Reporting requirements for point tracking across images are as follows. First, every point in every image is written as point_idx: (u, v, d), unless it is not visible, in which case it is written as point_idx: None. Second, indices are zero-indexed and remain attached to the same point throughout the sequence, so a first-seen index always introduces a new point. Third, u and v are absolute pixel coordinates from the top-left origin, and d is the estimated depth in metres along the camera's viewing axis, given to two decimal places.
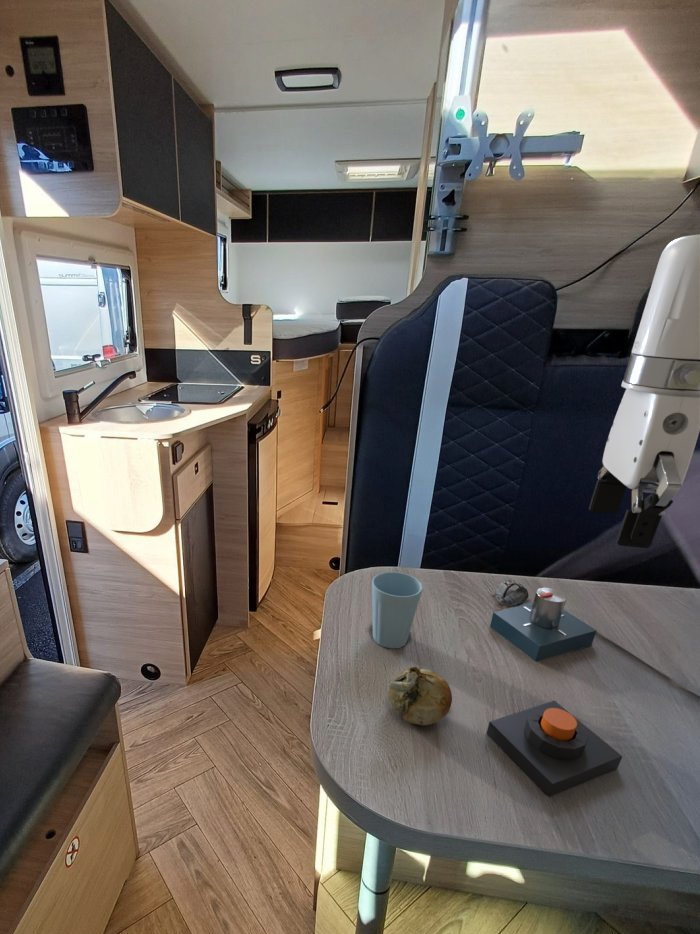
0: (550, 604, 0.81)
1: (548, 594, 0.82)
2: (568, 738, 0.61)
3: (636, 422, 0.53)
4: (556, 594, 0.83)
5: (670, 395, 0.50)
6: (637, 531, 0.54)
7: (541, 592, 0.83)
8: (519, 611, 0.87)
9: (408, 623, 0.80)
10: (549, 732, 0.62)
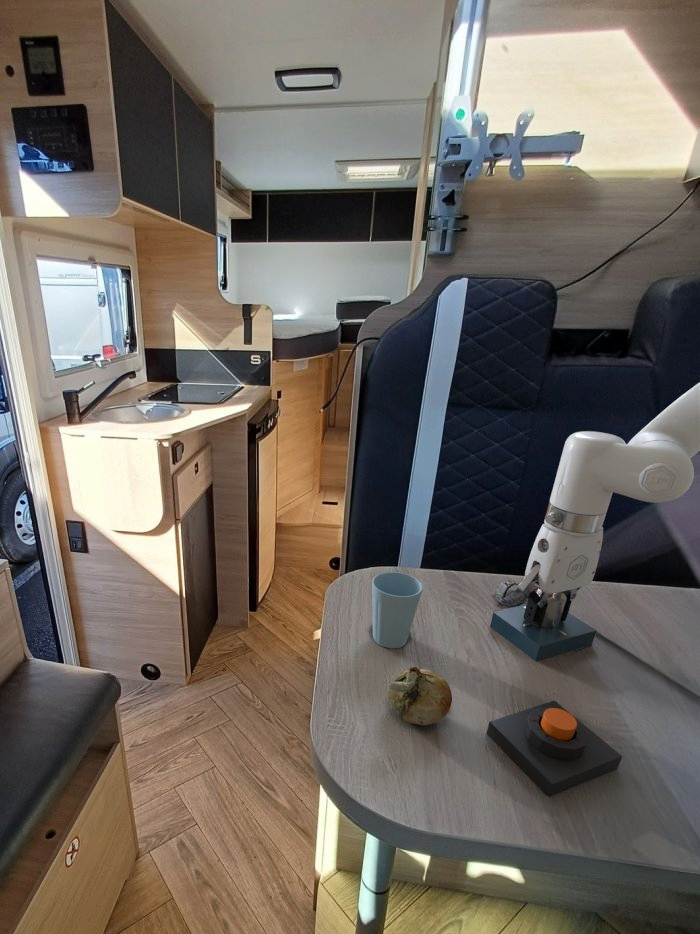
0: (550, 604, 0.81)
1: None
2: (568, 738, 0.61)
3: None
4: (556, 594, 0.83)
5: (546, 527, 0.77)
6: (528, 612, 0.83)
7: (541, 592, 0.83)
8: (519, 611, 0.87)
9: (408, 623, 0.80)
10: (549, 732, 0.62)
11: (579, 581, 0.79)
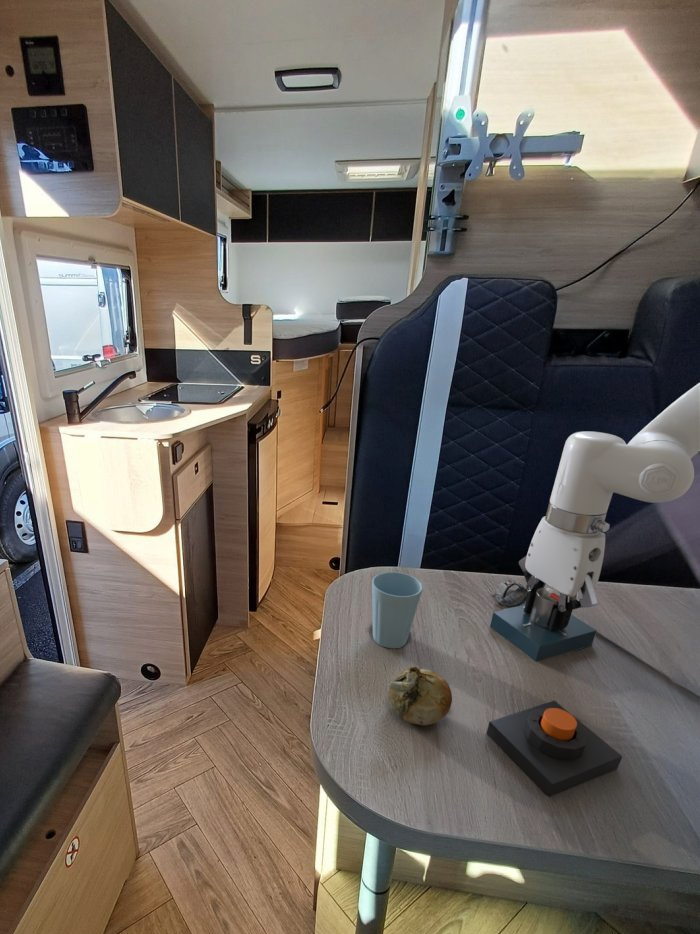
0: None
1: (557, 595, 0.82)
2: (568, 738, 0.61)
3: (566, 553, 0.76)
4: (548, 591, 0.83)
5: (590, 537, 0.74)
6: (563, 621, 0.81)
7: (551, 598, 0.81)
8: (519, 611, 0.87)
9: (408, 623, 0.80)
10: (549, 732, 0.62)
11: None
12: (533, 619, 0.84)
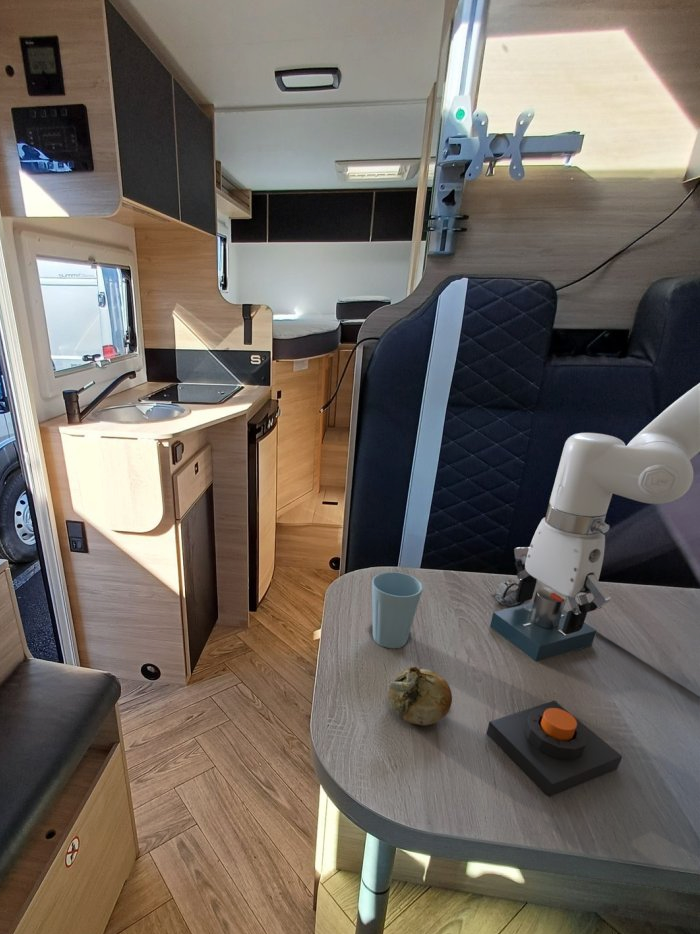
0: (565, 601, 0.82)
1: (557, 595, 0.82)
2: (568, 738, 0.61)
3: (566, 554, 0.76)
4: (548, 591, 0.83)
5: (590, 538, 0.74)
6: (577, 624, 0.78)
7: (551, 598, 0.81)
8: (519, 611, 0.87)
9: (408, 623, 0.80)
10: (549, 732, 0.62)
11: None
12: (533, 619, 0.84)
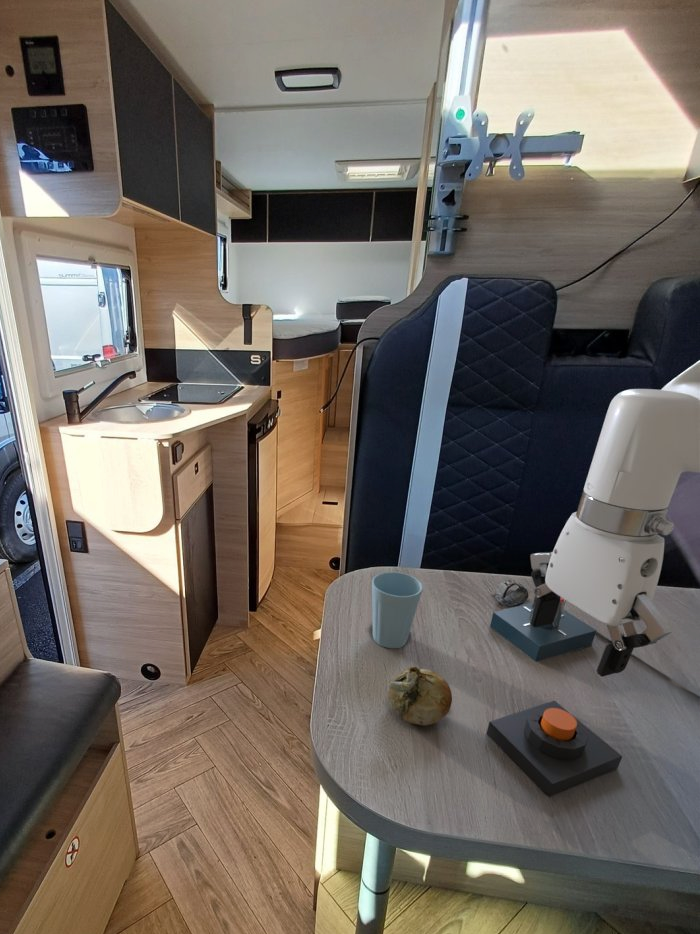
0: (565, 601, 0.82)
1: None
2: (568, 738, 0.61)
3: (607, 564, 0.53)
4: None
5: (644, 543, 0.51)
6: (619, 663, 0.55)
7: None
8: (519, 611, 0.87)
9: (408, 623, 0.80)
10: (549, 732, 0.62)
11: None
12: None
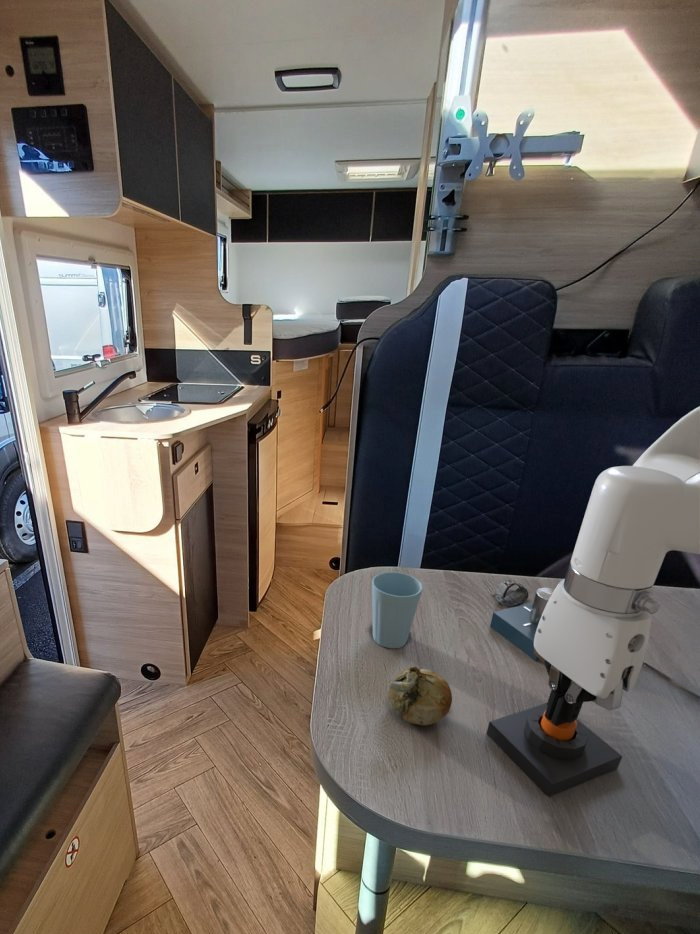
0: None
1: None
2: (568, 738, 0.61)
3: (595, 638, 0.53)
4: (548, 591, 0.83)
5: (631, 620, 0.51)
6: (571, 714, 0.60)
7: None
8: (519, 611, 0.87)
9: (408, 623, 0.80)
10: (549, 732, 0.62)
11: None
12: (533, 619, 0.84)
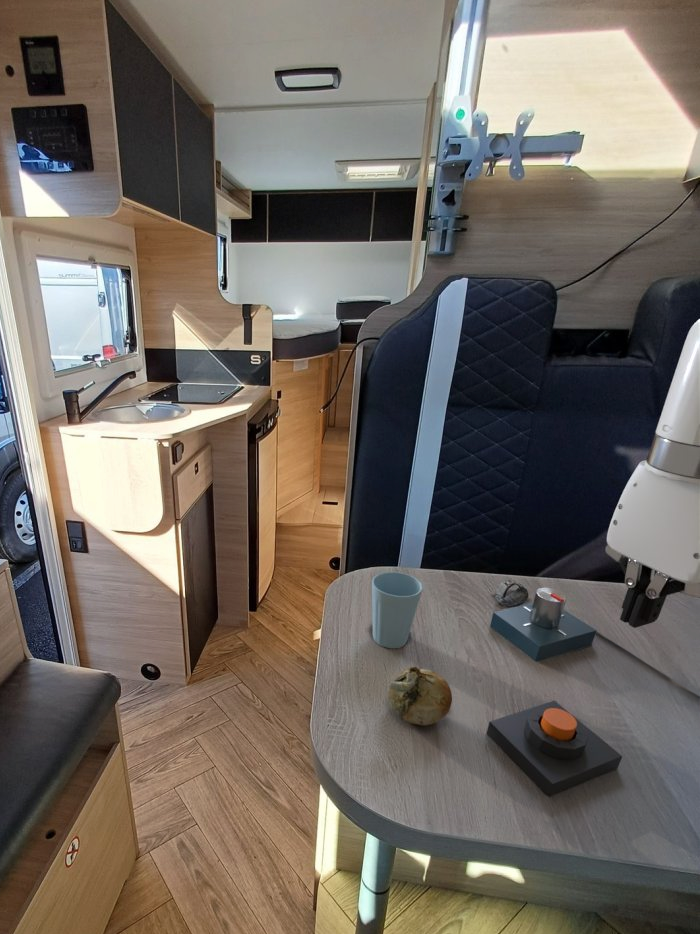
0: (565, 601, 0.82)
1: (557, 595, 0.82)
2: (568, 738, 0.61)
3: (687, 514, 0.48)
4: (548, 591, 0.83)
5: None
6: (652, 613, 0.54)
7: (551, 598, 0.81)
8: (519, 611, 0.87)
9: (408, 623, 0.80)
10: (549, 732, 0.62)
11: None
12: (533, 619, 0.84)
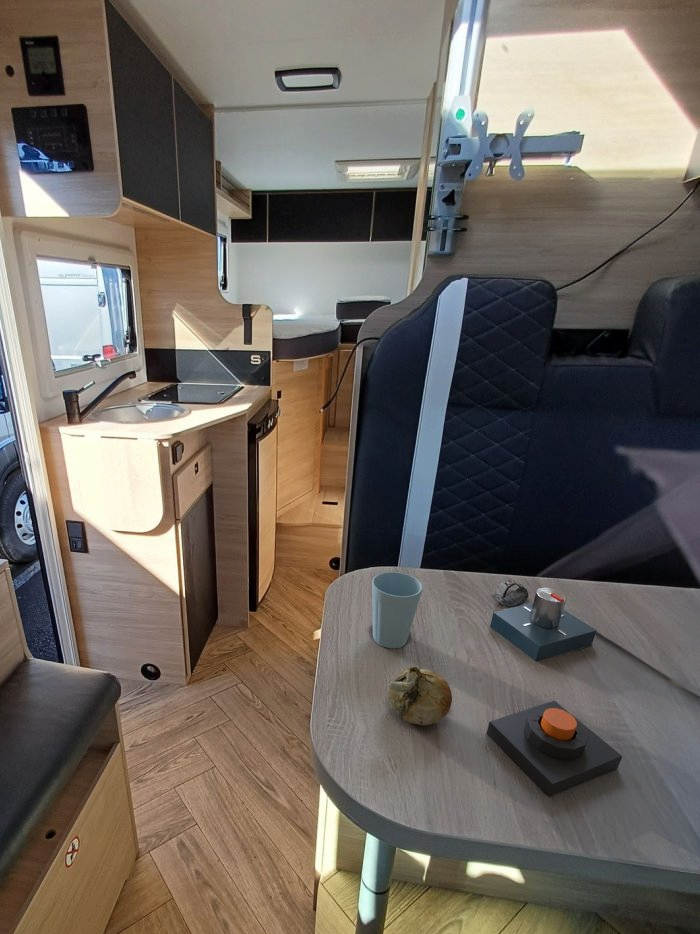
0: (565, 601, 0.82)
1: (557, 595, 0.82)
2: (568, 738, 0.61)
3: None
4: (548, 591, 0.83)
5: None
6: None
7: (551, 598, 0.81)
8: (519, 611, 0.87)
9: (408, 623, 0.80)
10: (549, 732, 0.62)
11: None
12: (533, 619, 0.84)
